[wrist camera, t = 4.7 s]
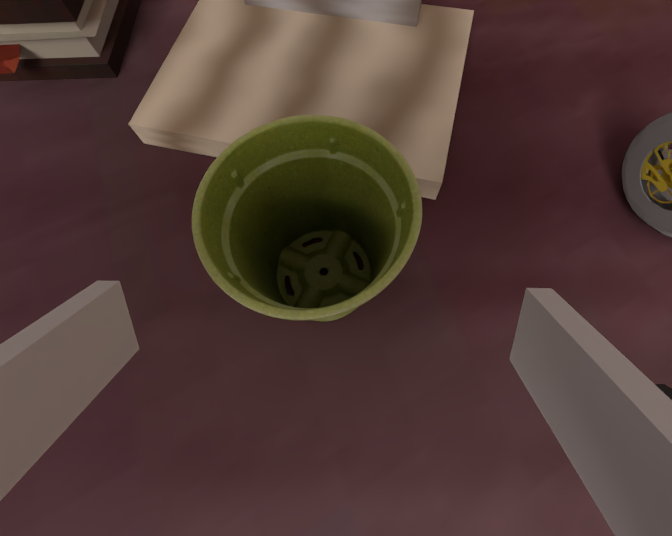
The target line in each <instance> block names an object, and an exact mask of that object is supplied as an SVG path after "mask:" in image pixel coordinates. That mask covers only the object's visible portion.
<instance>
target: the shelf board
mask: <svg viewBox="0 0 672 536" xmlns="http://www.w3.org/2000/svg"><path fill="white" fill-rule="evenodd" d="M421 2H422V0H199V1H198V3H197V5H196V7H195V8H194V10H193V12H192V14H191V15H190V17H189V19H188V21H187V22H186V24H185V26H184V28H183V29H182V31H181V33H180V35H179V36H178V38H177V40H176V42H175V43H174V45H173V47H172V49H171V50H170V52H169V54H168V56H167V57H166V59H165V61H164V63H163V64H162V66H161V68H160V70H159V71H158V73H157V75H156V77H155V78H154V80H153V82H152V84H151V85H150V87H149V89H148V91H147V92H146V94H145V96H144V98H143V99H142V101H141V103H140V105H139V106H138V108H137V110H136V112H135V113H134V115H133V117H132V119H131V120H130V122H129V125H130V127H131V128H132V129H133V130H134V132H135V133H136V134H137V135H138V137H139V138H140V139H141V140H142V141H143V143H145V144H150V145H155V146H160V147H165V148H170V149H176V150H181V151H186V152H191V153H196V154H201V155H207V156H212V157H218V156H219V155H220V154H221V153H222V152H223V151H224V150H225V149H226V147H227V146H229V145H230V144H231V143H232V142H234V141H235V140H236V139H238V138H239V137H241V136H243V135H244V134H247V133H248V132H250V131H251V130H253V129H254V128H256V127H259V126H261V125H263V124H266V123H269V122H273V121H276V120H278V119H282V118H286V117H291V116H298V115H321V116H322V115H327V116H335V117H341V118H345V119H348V120H351V121H354V122H357V123H360V124H362V125H364V126H366V127H369V128H370V129H372V130H374V131H375V132H377V133H378V134H380V135H381V136H383V137H384V138H385V139H386V140H387V141H389V142H391V144H392V145H394V146H395V147H396V148H397V149H398V150H399V152H400V153H401V154H402V155H403V157H404V158H405V160H406V161H407V163H408V164H409V165H410V167H411V169H412V171H413V172H414V175H415V177H416V180H417V183H418V186H419V190H420V194H421V197H424V198H429V199H434V200H436V197H437V195H438V192H439V190H440V187H441V185H442V182H443V176H444V171H445V165H446V160H447V154H448V149H449V144H450V138H451V133H452V127H453V122H454V116H455V111H456V106H457V100H458V95H459V89H460V84H461V78H462V73H463V67H464V62H465V57H466V51H467V46H468V40H469V35H470V29H471V24H472V19H473V13H474V10H466V9H458V8H450V7H442V6H433V5H425V4H421Z"/></svg>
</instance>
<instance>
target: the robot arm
mask: <svg viewBox="0 0 672 536" xmlns="http://www.w3.org/2000/svg"><path fill="white" fill-rule="evenodd" d="M138 350H139V346H138V342H137V339H136V336H135V332H134V329H133V325H132V322H131V318H130V315H129V312H128V308H127V305H126V301H125V298H124V294H123V291H122V287H121V284H120V281H96V282H95V283H93V284H92V285H90V286H89V287H87V288H86V289H84V290H83V291H81V292H79V293H78V294H76V295H75V296H73V297H72V298H70V299H69V300H67V301H66V302H64V303H63V304H61V305H60V306H58V307H57V308H55V309H54V310H52V311H51V312H49V313H48V314H46V315H44V316H43V317H41V318H40V319H38V320H37V321H35V322H34V323H32V324H31V325H29V326H28V327H26V328H25V329H23V330H22V331H20V332H19V333H17V334H16V335H14V336H13V337H11V338H9V339H8V340H6V341H5V342H3V343H2V344H0V501H1V500H2V499H3V497H4V496H5V495H6V494H7V493H8V492H9V491H10V490H11V489H12V488H13V487H14V485H15V484H16V483H17V482H18V481H19V480H20V479H21V478H22V477H23V476H24V475H25V473H26V472H27V471H28V470H29V469H30V468H31V467H32V466H33V465H34V464H35V463H36V461H37V460H38V459H39V458H40V457H41V456H42V455H43V454H44V453H45V452H46V450H47V449H48V448H49V447H50V446H51V445H52V444H53V443H54V442H55V441H56V440H57V438H58V437H59V436H60V435H61V434H62V433H63V432H64V431H65V430H66V429H67V428H68V426H69V425H70V424H71V423H72V422H73V421H74V420H75V419H76V418H77V417H78V415H79V414H80V413H81V412H82V411H83V410H84V409H85V408H86V407H87V406H88V405H89V403H90V402H91V401H92V400H93V399H94V398H95V397H96V396H97V395H98V394H99V393H100V391H101V390H102V389H103V388H104V387H105V386H106V385H107V384H108V383H109V382H110V381H111V379H112V378H113V377H114V376H115V375H116V374H117V373H118V372H119V371H120V370H121V368H122V367H123V366H124V365H125V364H126V363H127V362H128V361H129V360H130V359H131V358H132V356H133V355H134V354H135V353H136V352H137V351H138ZM509 360H510V361H511V363H512V365H513V366H514V368H515V370H516V371H517V373H518V375H519V376H520V378H521V380H522V381H523V383H524V385H525V386H526V388H527V390H528V391H529V393H530V395H531V396H532V398H533V400H534V401H535V403H536V405H537V406H538V408H539V410H540V411H541V413H542V415H543V416H544V418H545V420H546V421H547V423H548V425H549V426H550V428H551V430H552V431H553V433H554V435H555V436H556V438H557V440H558V441H559V443H560V445H561V446H562V448H563V450H564V451H565V453H566V455H567V456H568V458H569V460H570V461H571V463H572V465H573V466H574V468H575V470H576V471H577V473H578V475H579V476H580V478H581V480H582V481H583V483H584V485H585V486H586V488H587V490H588V491H589V493H590V495H591V496H592V498H593V500H594V501H595V503H596V505H597V506H598V508H599V510H600V511H601V513H602V515H603V516H604V518H605V520H606V521H607V523H608V525H609V526H610V528H611V530H612V531H613V533H614V535H615V536H672V389H671V388H670V387H668V386H666V385H665V384H654V383H653V382H652V381H650V380H649V379H648V378H647V377H646V376H645V375H644V374H643V373H642V372H641V371H640V370H639V369H638V368H637V367H635V366H634V365H633V364H632V363H631V362H630V361H629V360H628V359H627V358H626V357H625V356H624V355H623V354H622V353H620V352H619V351H618V350H617V349H616V348H615V347H614V346H613V345H612V344H611V343H610V342H609V341H608V340H606V339H605V338H604V337H603V336H602V335H601V334H600V333H599V332H598V331H597V330H596V329H595V328H594V327H593V326H591V325H590V324H589V323H588V322H587V321H586V320H585V319H584V318H583V317H582V316H581V315H580V314H579V313H578V312H576V311H575V310H574V309H573V308H572V307H571V306H570V305H569V304H568V303H567V302H566V301H565V300H564V299H563V298H561V297H560V296H559V295H558V294H557V293H556V292H555V291H554V290H553V289H552V288H526V291H525V295H524V299H523V304H522V308H521V312H520V316H519V321H518V325H517V329H516V333H515V338H514V342H513V346H512V351H511V355H510V359H509Z"/></svg>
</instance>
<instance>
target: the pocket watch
mask: <svg viewBox="0 0 672 536" xmlns="http://www.w3.org/2000/svg"><path fill="white" fill-rule="evenodd" d="M671 144H672V112H670V113H667V114H665V115H663V116H662V117H660V118H658V119H657V120H655V121H653V122H652V123H650V124H648V125H647V126H646V127H645V128H644V129H643V130H642V131H640V132H639V133H638V134H637V136H636V137H635V138H634V139H633V141H632V142H631V144H630V146H629V148H628V150H627V152H626V154H625V158H624V161H623V166H622V182H623V190H624V193H625V196H626V198H627V201H628V202H629V204H630V206H631V208H632V209H633V210H634V212H635V213H636V214H637V215H638V217H640V218H641V219H642V220H643V221H645V222H646V223H647V224H648V225H650V226H651V227H653V228H654V229H656V230H657V231H659V232H661V233H662V234H664V235H666V236H669V237H672V149H668V146H669V145H671Z"/></svg>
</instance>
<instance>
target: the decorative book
mask: <svg viewBox="0 0 672 536" xmlns="http://www.w3.org/2000/svg"><path fill="white" fill-rule="evenodd" d="M140 2H141V0H0V81H19V80H50V79H82V78H113V77H117V76H118V73H119V70H120V67H121V63H122V60H123V57H124V54H125V50H126V47H127V44H128V41H129V37H130V34H131V31H132V28H133V24H134V21H135V18H136V15H137V11H138V8H139V5H140Z"/></svg>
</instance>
